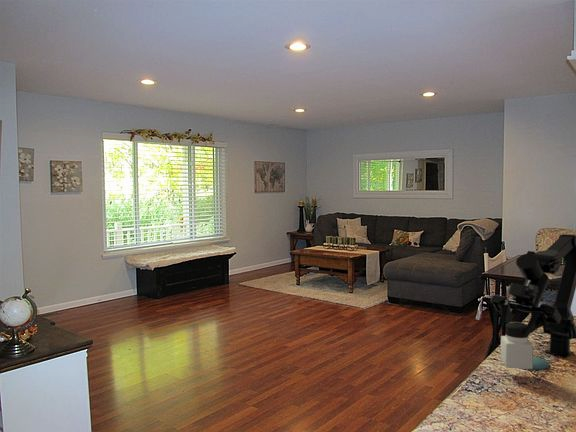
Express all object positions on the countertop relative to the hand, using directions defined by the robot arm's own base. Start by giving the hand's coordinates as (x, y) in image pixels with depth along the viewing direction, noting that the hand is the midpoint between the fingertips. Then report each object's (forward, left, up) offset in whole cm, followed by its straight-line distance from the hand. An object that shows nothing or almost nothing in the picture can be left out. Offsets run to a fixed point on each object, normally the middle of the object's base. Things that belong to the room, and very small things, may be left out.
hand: (513, 333), depth 139 cm
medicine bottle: (-2, 0, -10) cm, 10 cm away
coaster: (-15, -2, -13) cm, 20 cm away
